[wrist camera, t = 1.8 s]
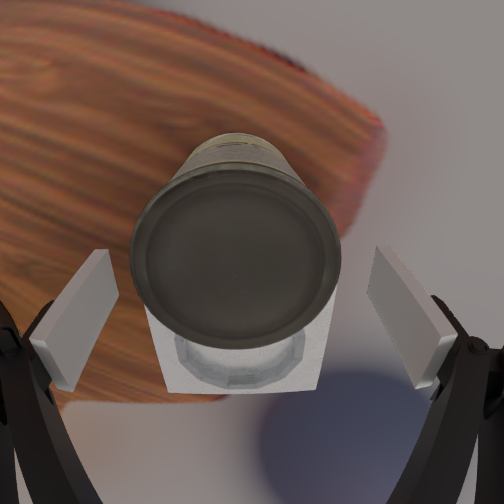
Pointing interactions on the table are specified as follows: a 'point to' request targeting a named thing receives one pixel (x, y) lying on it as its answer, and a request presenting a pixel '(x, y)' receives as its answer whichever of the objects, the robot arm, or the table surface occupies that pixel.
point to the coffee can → (235, 247)
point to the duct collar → (243, 361)
